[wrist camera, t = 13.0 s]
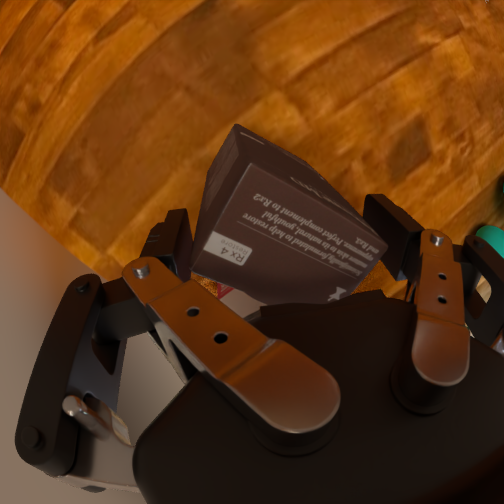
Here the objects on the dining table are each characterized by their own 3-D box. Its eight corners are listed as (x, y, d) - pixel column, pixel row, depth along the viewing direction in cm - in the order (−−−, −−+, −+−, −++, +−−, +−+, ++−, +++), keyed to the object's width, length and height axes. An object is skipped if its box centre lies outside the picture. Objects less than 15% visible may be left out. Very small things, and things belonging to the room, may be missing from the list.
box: (308, 157, 19) (396, 249, 9) (276, 207, 21) (321, 331, 11) (234, 115, 17) (250, 159, 7) (203, 171, 19) (181, 281, 9)
